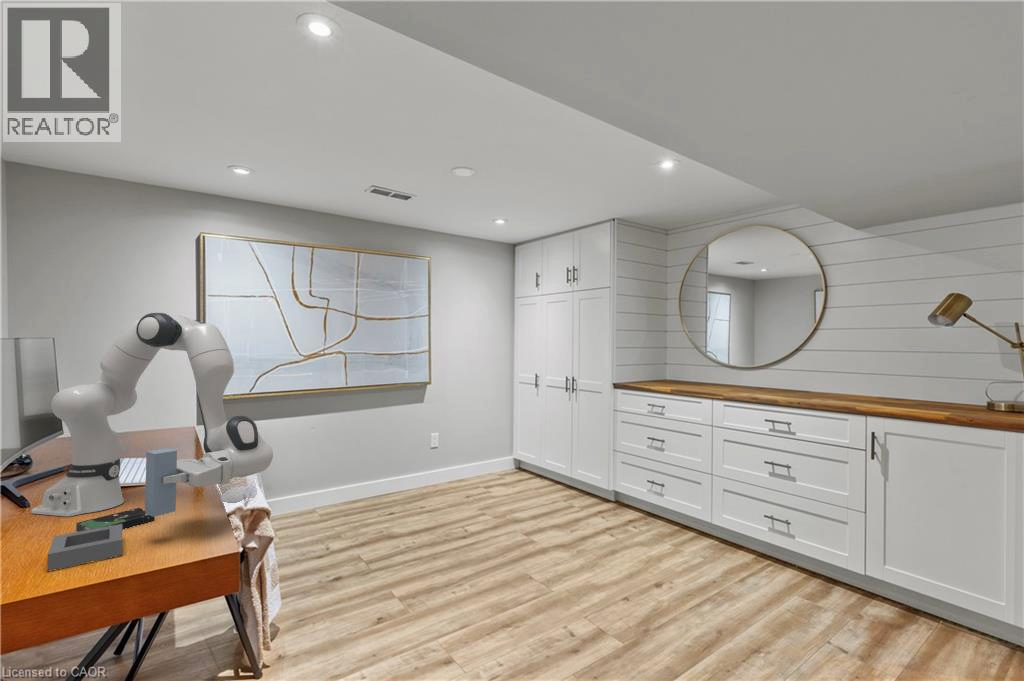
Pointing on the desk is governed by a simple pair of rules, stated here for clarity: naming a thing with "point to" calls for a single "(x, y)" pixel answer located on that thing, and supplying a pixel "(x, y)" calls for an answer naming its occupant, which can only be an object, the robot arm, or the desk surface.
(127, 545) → the desk surface
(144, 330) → the robot arm
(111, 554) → the well block
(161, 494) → the blue block
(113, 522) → the disk drive
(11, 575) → the desk surface
